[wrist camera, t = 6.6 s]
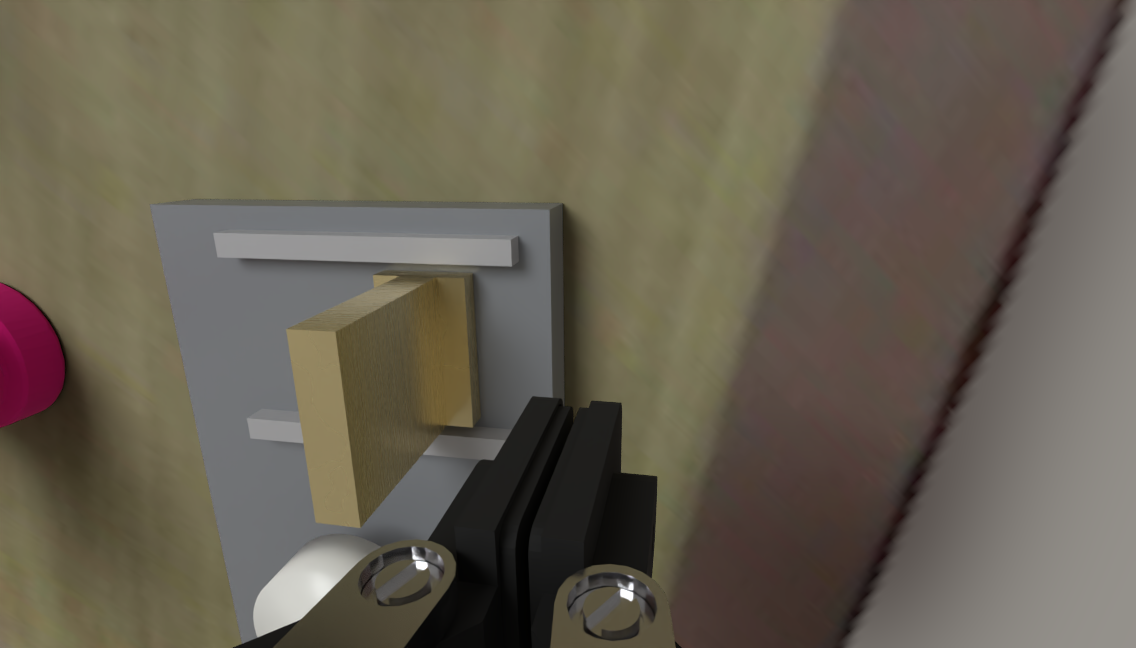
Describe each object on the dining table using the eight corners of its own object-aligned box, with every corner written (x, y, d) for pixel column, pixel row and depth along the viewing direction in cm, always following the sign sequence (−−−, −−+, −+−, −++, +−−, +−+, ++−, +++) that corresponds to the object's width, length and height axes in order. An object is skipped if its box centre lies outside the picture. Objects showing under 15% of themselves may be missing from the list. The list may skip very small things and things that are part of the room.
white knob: (424, 659, 22) (400, 708, 20) (300, 639, 22) (266, 684, 21) (413, 542, 20) (385, 583, 18) (281, 526, 21) (241, 564, 19)
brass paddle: (480, 417, 20) (395, 532, 14) (399, 410, 21) (283, 518, 15) (472, 272, 19) (373, 334, 13) (385, 270, 19) (249, 327, 13)
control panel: (568, 794, 27) (555, 863, 25) (297, 741, 30) (259, 798, 27) (562, 203, 20) (543, 212, 17) (195, 199, 22) (129, 206, 20)
